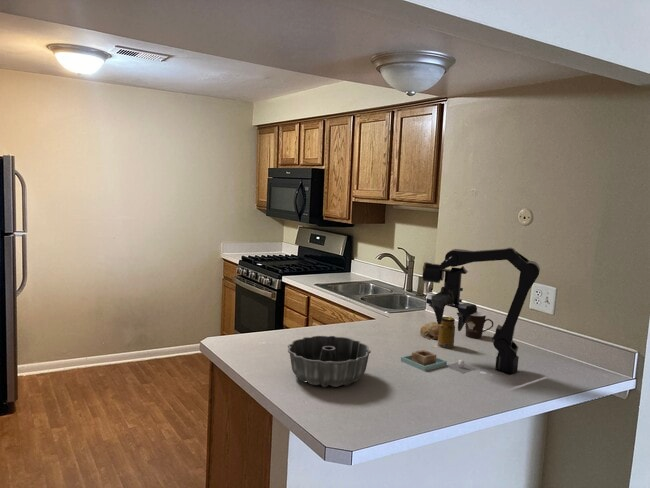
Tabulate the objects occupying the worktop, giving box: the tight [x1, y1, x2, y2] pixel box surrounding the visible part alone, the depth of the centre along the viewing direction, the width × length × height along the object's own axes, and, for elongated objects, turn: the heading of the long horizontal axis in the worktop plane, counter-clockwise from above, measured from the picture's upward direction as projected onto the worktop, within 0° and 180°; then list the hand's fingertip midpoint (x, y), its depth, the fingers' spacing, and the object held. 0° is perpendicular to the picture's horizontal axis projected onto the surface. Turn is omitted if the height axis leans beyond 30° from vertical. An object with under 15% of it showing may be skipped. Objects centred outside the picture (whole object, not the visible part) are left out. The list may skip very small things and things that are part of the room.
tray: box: [400, 354, 448, 372], centre depth 183 cm, size 11×11×2 cm
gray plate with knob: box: [444, 359, 478, 374], centre depth 180 cm, size 8×8×3 cm
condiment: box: [432, 316, 456, 350], centre depth 202 cm, size 7×8×12 cm
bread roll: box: [419, 321, 439, 341], centre depth 218 cm, size 10×10×8 cm
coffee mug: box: [464, 310, 494, 340], centre depth 219 cm, size 12×9×10 cm
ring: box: [411, 349, 437, 366], centre depth 182 cm, size 6×6×4 cm
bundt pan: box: [287, 335, 371, 388], centre depth 167 cm, size 26×26×10 cm
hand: (449, 327), depth 186 cm, fingers open, 9 cm apart
